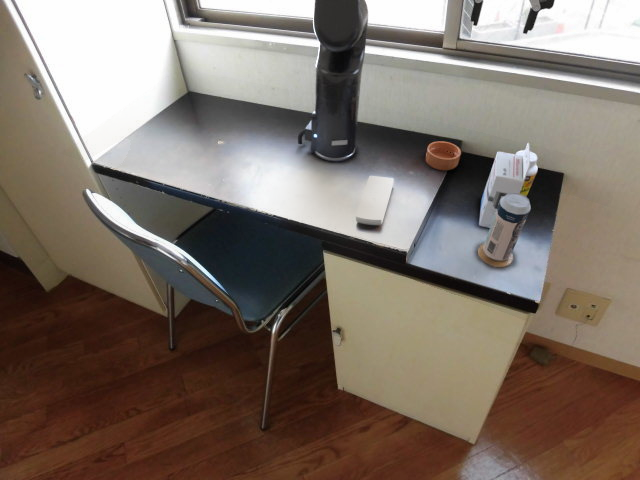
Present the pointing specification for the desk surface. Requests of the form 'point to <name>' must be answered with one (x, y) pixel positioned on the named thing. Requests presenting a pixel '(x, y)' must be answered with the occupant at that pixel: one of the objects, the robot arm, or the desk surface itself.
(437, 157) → the terracotta bowl
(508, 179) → the ink box
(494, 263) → the coaster
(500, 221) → the cylindrical canister
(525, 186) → the supplement bottle
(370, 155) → the desk surface
